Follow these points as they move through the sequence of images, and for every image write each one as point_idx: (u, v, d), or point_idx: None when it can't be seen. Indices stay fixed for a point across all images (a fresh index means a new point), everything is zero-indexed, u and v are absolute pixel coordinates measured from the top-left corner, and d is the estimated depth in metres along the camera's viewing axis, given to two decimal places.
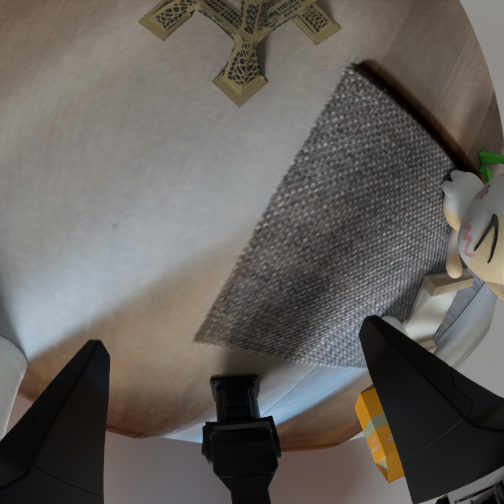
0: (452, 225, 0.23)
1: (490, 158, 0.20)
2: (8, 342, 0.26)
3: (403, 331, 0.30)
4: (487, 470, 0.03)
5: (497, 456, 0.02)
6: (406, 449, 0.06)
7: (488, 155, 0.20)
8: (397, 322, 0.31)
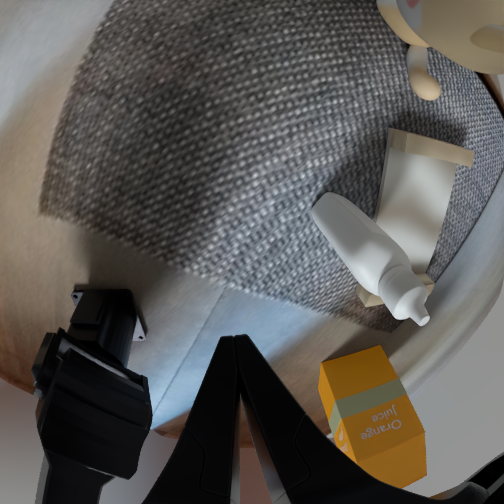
0: (401, 29, 0.12)
1: None
2: None
3: (364, 213, 0.18)
4: None
5: None
6: (269, 490, 0.05)
7: None
8: None
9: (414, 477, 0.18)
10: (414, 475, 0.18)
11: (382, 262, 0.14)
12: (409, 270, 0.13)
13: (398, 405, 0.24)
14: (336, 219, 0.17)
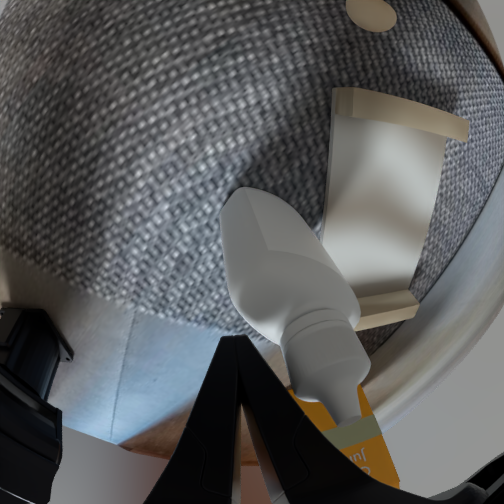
0: None
1: None
2: None
3: (289, 215, 0.13)
4: None
5: None
6: (268, 490, 0.05)
7: None
8: (280, 202, 0.14)
9: None
10: None
11: (284, 304, 0.08)
12: (336, 320, 0.08)
13: (370, 448, 0.19)
14: (233, 227, 0.11)
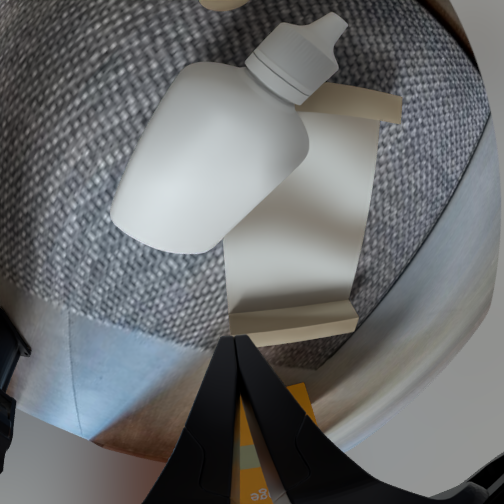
0: None
1: None
2: None
3: None
4: None
5: None
6: (269, 490, 0.05)
7: None
8: None
9: None
10: None
11: (227, 66, 0.07)
12: None
13: None
14: (137, 144, 0.09)
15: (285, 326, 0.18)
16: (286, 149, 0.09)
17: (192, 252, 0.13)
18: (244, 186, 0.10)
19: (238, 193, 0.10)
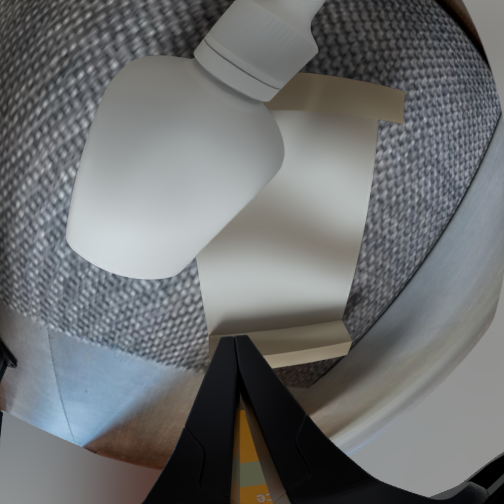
0: None
1: None
2: None
3: None
4: None
5: None
6: (269, 490, 0.05)
7: None
8: None
9: None
10: None
11: (175, 58, 0.05)
12: None
13: None
14: None
15: (269, 351, 0.16)
16: (250, 161, 0.07)
17: (157, 277, 0.11)
18: (201, 207, 0.08)
19: (196, 216, 0.08)
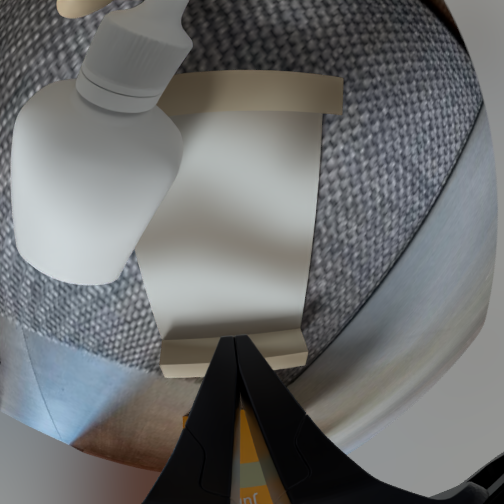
0: None
1: None
2: None
3: None
4: None
5: None
6: (269, 490, 0.05)
7: None
8: None
9: None
10: None
11: (70, 82, 0.05)
12: None
13: (265, 495, 0.16)
14: None
15: None
16: (131, 173, 0.06)
17: (95, 283, 0.11)
18: (104, 220, 0.07)
19: (103, 228, 0.08)
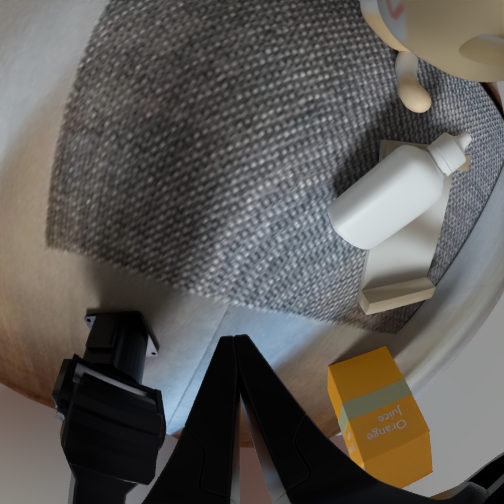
0: (388, 37, 0.12)
1: None
2: None
3: None
4: None
5: None
6: (269, 490, 0.05)
7: None
8: None
9: (420, 474, 0.18)
10: (420, 472, 0.18)
11: (422, 151, 0.14)
12: (431, 144, 0.14)
13: (404, 405, 0.25)
14: (367, 184, 0.16)
15: (398, 295, 0.24)
16: (439, 196, 0.15)
17: (370, 247, 0.20)
18: (418, 212, 0.16)
19: (414, 216, 0.17)
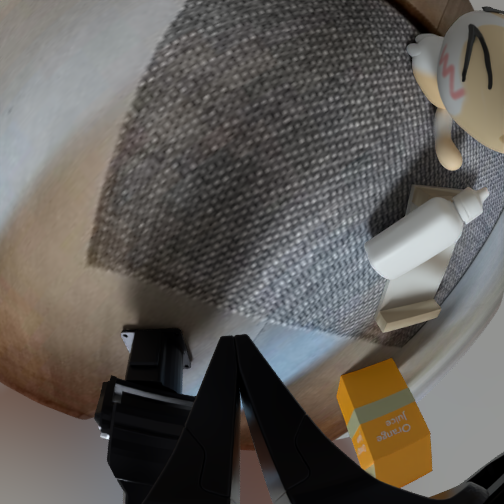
0: (433, 96, 0.14)
1: None
2: None
3: None
4: None
5: None
6: (269, 490, 0.05)
7: None
8: None
9: (421, 472, 0.21)
10: (421, 471, 0.21)
11: (449, 203, 0.16)
12: (456, 195, 0.17)
13: (408, 411, 0.27)
14: (403, 229, 0.18)
15: (410, 315, 0.27)
16: None
17: (395, 278, 0.22)
18: (438, 252, 0.19)
19: (435, 254, 0.19)
